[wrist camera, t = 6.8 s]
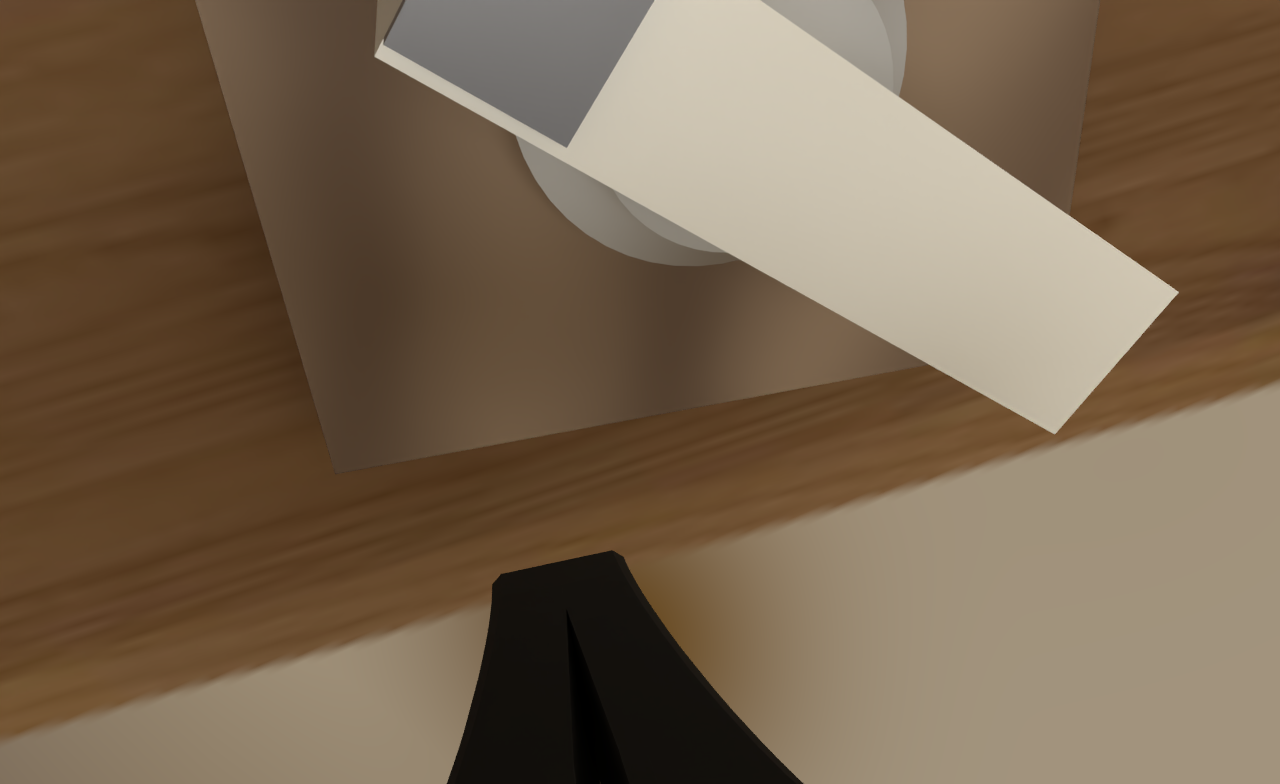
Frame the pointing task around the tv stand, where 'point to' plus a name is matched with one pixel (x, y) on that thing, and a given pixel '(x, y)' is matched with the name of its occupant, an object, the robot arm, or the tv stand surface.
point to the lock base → (563, 232)
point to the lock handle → (798, 173)
